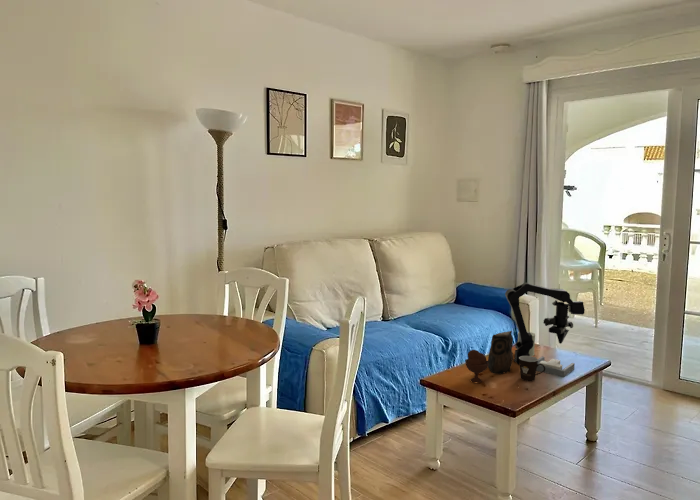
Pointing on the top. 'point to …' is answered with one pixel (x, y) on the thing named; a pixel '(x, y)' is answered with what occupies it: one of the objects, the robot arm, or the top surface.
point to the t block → (552, 363)
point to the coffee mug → (528, 367)
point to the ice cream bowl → (476, 364)
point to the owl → (501, 353)
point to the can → (533, 344)
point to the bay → (554, 370)
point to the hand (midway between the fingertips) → (560, 343)
